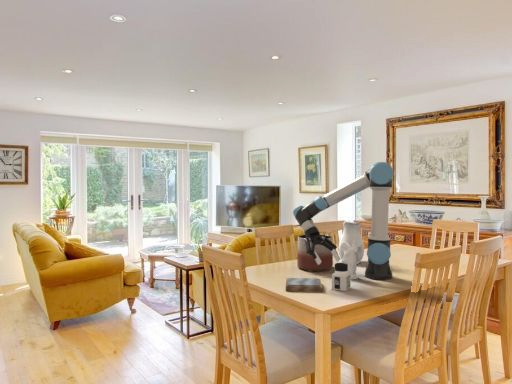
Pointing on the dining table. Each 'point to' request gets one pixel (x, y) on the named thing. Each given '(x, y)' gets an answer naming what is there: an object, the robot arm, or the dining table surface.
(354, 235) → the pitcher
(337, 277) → the container
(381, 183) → the robot arm
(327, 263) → the planter
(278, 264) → the dining table surface
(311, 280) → the wooden framed tray
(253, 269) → the dining table surface
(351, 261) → the cherub figurine
